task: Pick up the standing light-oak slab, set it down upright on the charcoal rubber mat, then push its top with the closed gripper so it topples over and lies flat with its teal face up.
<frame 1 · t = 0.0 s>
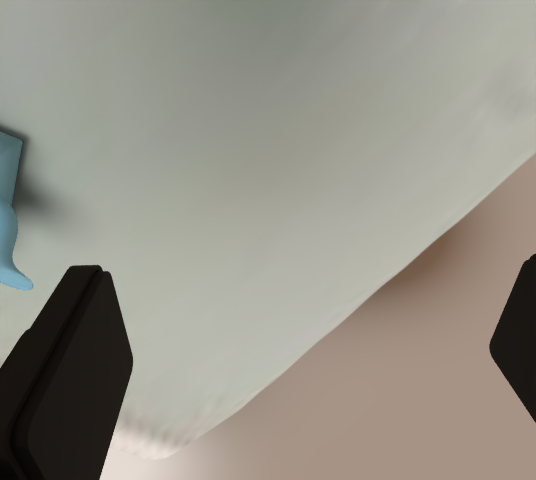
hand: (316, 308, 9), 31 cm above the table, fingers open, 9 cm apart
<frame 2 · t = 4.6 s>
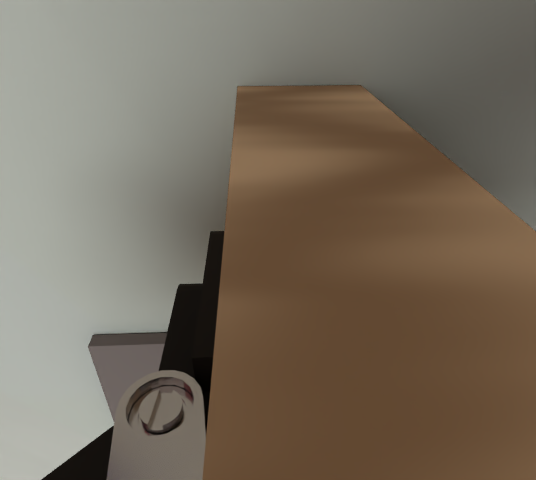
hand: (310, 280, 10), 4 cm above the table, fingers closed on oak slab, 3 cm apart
mat: (307, 422, 20), on the table
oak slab: (294, 210, 13), on the table, touching gripper
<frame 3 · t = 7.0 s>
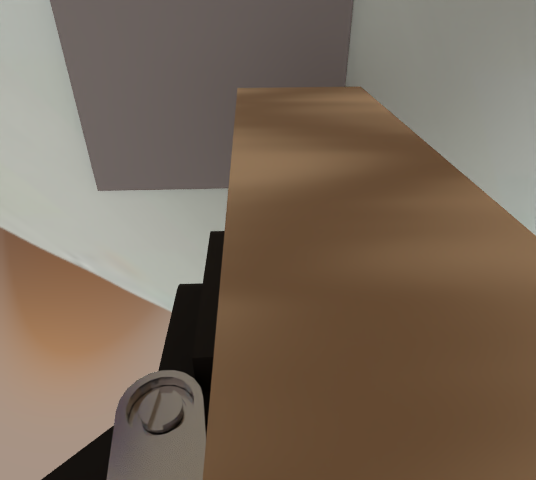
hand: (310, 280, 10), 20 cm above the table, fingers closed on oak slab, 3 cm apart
mat: (212, 98, 27), on the table
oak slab: (294, 211, 13), point 17 cm above the table, touching gripper
when the fingers open (5 cm above the table, at t = 9.9 s): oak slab stays where it is, resting on mat.
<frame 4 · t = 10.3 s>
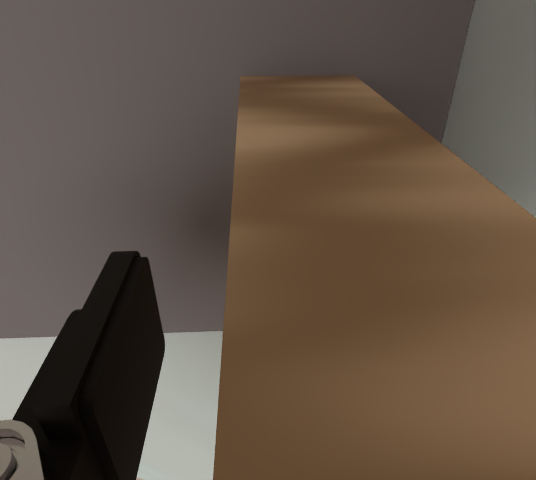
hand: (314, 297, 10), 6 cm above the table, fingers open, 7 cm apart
mat: (182, 192, 15), on the table
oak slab: (293, 194, 14), point 1 cm above the table, touching mat
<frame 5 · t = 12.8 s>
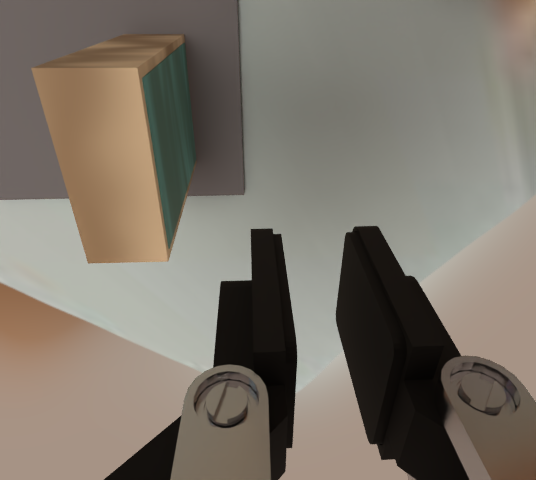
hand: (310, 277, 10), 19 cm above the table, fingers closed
mat: (103, 103, 26), on the table
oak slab: (163, 103, 26), point 1 cm above the table, touching mat
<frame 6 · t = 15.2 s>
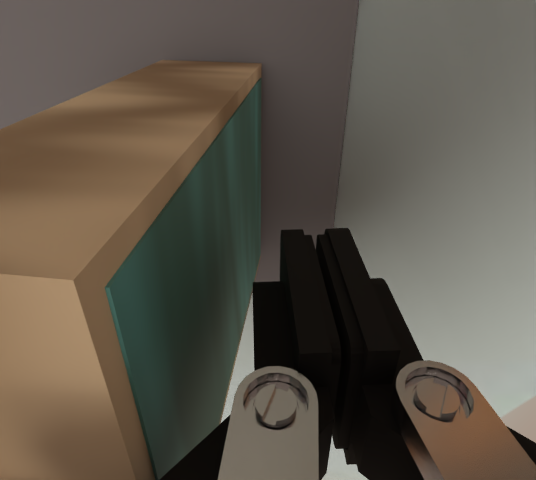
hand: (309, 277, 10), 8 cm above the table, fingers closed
mat: (121, 165, 16), on the table
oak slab: (217, 170, 16), point 1 cm above the table, tilted 10°, touching mat
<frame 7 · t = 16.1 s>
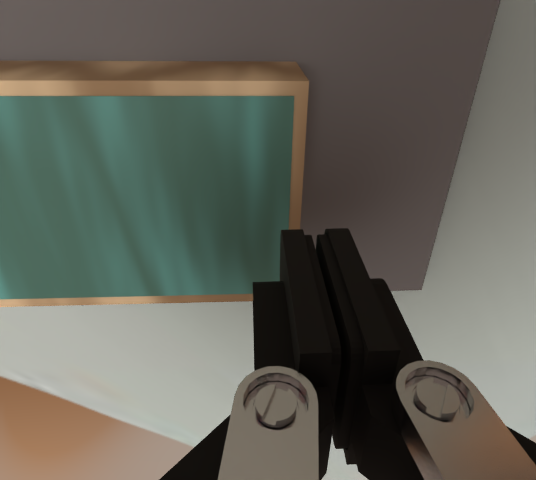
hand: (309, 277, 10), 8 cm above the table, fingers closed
mat: (237, 165, 17), on the table
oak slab: (295, 186, 15), point 2 cm above the table, tilted 90°, touching mat
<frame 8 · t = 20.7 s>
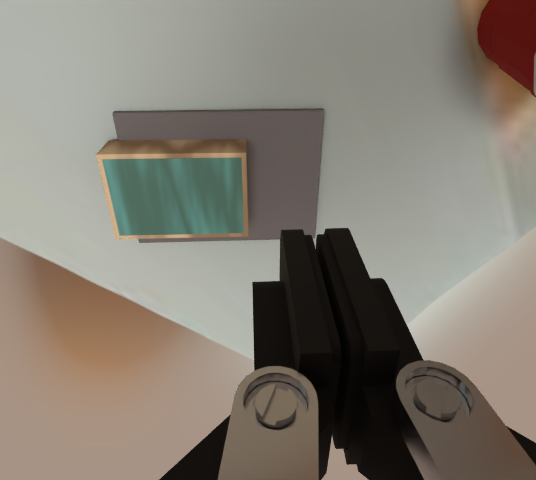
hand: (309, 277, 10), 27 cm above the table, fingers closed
mat: (224, 179, 38), on the table
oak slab: (247, 188, 36), point 2 cm above the table, tilted 90°, touching mat
plastic cup: (513, 23, 32), on the table
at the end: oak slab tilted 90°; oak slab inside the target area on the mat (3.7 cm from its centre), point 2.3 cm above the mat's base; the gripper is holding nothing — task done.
